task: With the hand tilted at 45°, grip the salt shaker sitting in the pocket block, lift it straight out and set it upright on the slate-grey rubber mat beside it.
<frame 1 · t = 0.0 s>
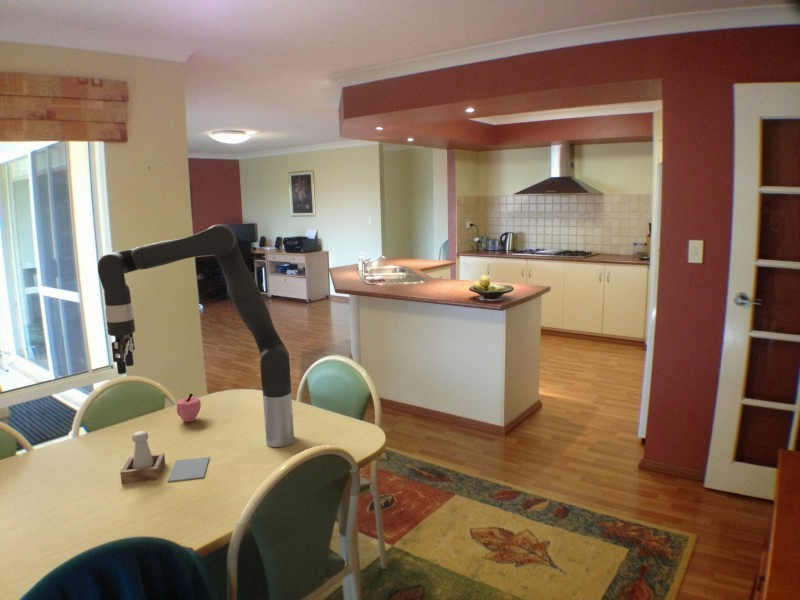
hand: (126, 369, 169), 29 cm above the table, tool pointing down, fingers open, 8 cm apart
apple: (189, 421, 203), on the table
rubber mat: (189, 469, 165), on the table
pocket block: (144, 473, 164), on the table
salt shaker: (144, 473, 164), resting in pocket block
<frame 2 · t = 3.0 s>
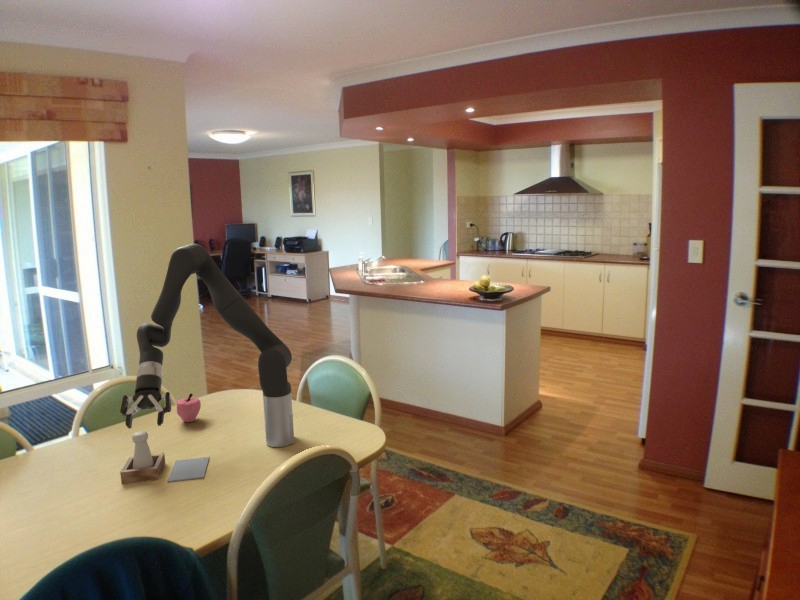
hand: (144, 426, 167), 13 cm above the table, tool tilted 45°, fingers open, 8 cm apart
nothing on the table moved.
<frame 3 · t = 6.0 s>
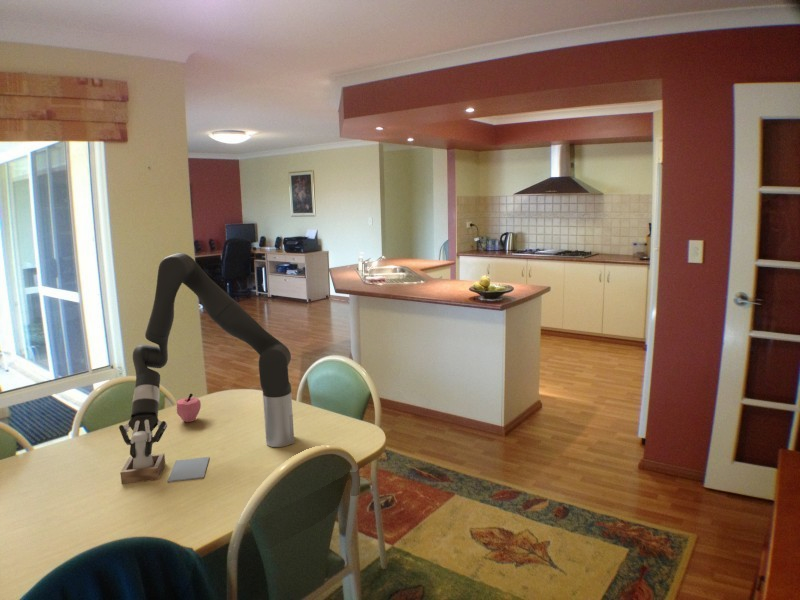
hand: (140, 456, 161), 6 cm above the table, tool tilted 45°, fingers closed on salt shaker, 3 cm apart
salt shaker: (144, 473, 164), resting in pocket block, touching gripper
everything else where it was.
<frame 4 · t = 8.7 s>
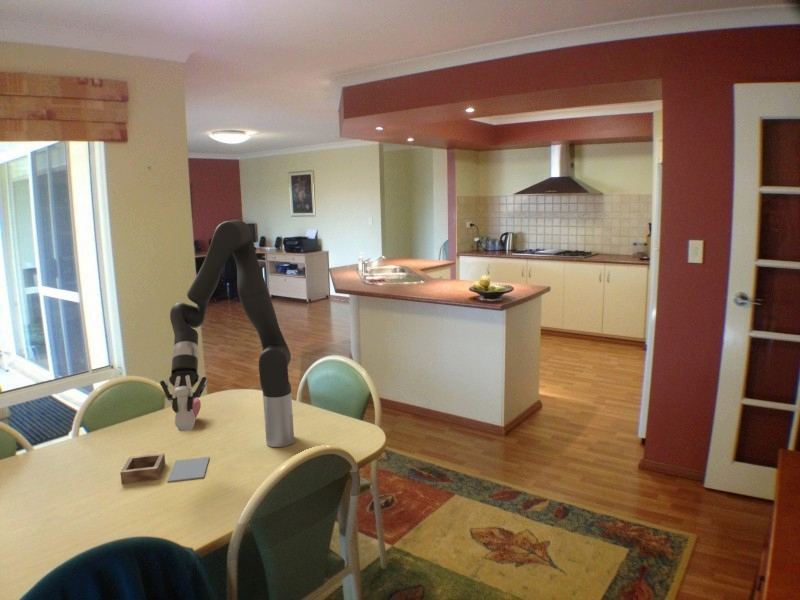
hand: (182, 410, 160), 20 cm above the table, tool tilted 45°, fingers closed on salt shaker, 3 cm apart
salt shaker: (185, 429, 163), point 13 cm above the table, touching gripper
everything else where it was.
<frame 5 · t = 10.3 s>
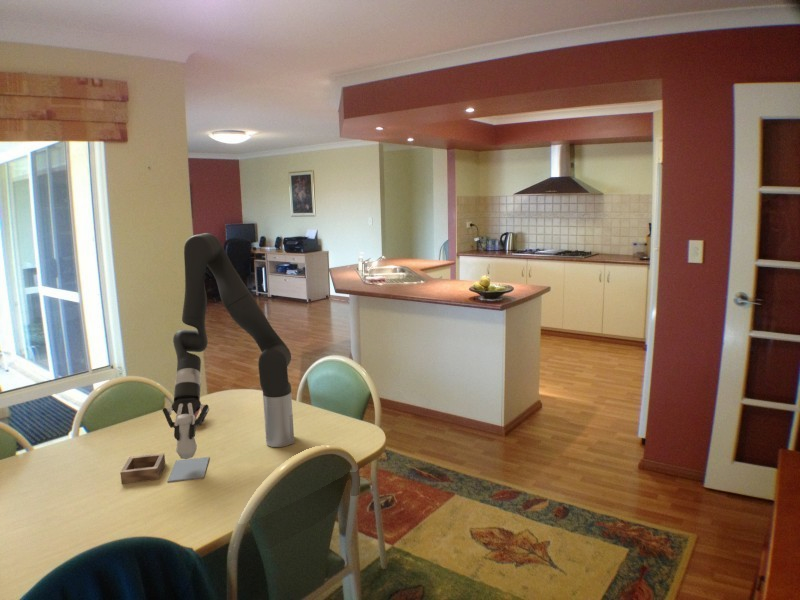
hand: (184, 438, 162), 11 cm above the table, tool tilted 45°, fingers closed on salt shaker, 3 cm apart
salt shaker: (187, 456, 165), point 4 cm above the table, touching gripper
everything else where it was.
when the fingers open (8 cm above the table, at t = 11.5 s): salt shaker drops 1 cm, resting on rubber mat.
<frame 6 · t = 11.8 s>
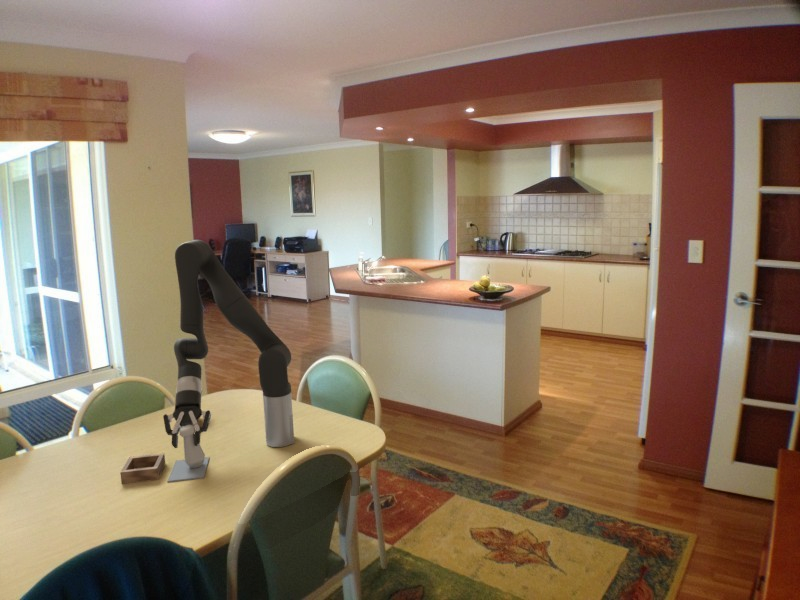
hand: (185, 445, 162), 9 cm above the table, tool tilted 45°, fingers open, 5 cm apart
salt shaker: (196, 465, 167), point 1 cm above the table, touching gripper, rubber mat
everything else where it was.
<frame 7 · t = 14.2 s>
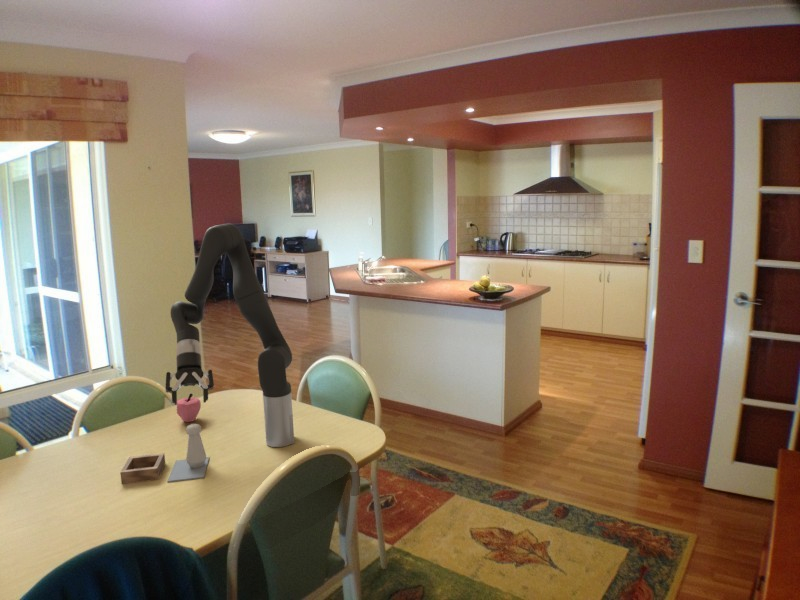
hand: (190, 402, 170), 18 cm above the table, tool tilted 40°, fingers open, 8 cm apart
salt shaker: (196, 466, 167), resting on rubber mat
everything else where it was.
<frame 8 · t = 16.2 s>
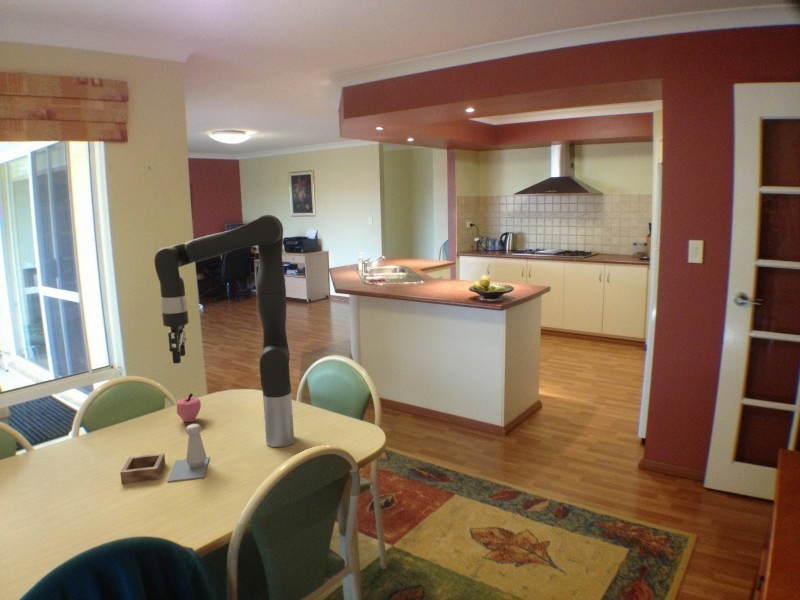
hand: (179, 359, 176), 30 cm above the table, tool pointing down, fingers open, 8 cm apart
nothing on the table moved.
at the end: salt shaker inside the target area on the rubber mat (2.4 cm from its centre), point 0.2 cm above the rubber mat's base; salt shaker tilted 0°; the gripper is holding nothing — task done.
